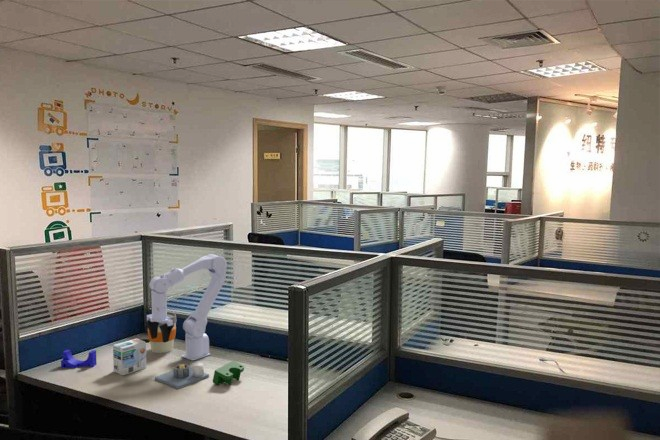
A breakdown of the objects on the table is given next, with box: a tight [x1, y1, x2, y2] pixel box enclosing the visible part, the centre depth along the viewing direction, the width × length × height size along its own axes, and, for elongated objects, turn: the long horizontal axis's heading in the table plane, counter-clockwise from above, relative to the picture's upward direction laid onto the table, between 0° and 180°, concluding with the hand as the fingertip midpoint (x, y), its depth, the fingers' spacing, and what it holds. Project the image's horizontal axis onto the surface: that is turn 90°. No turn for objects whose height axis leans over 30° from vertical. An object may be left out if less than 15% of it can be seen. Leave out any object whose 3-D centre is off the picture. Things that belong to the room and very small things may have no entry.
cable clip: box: [60, 349, 97, 369], centre depth 207 cm, size 12×4×6 cm, turn 88°
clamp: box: [212, 360, 245, 386], centre depth 194 cm, size 12×6×9 cm, turn 148°
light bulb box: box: [112, 338, 147, 376], centre depth 204 cm, size 11×7×11 cm, turn 143°
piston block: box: [154, 362, 210, 390], centre depth 196 cm, size 14×14×5 cm
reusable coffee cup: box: [146, 311, 178, 354], centre depth 227 cm, size 13×12×15 cm
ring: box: [173, 363, 191, 379], centre depth 196 cm, size 6×6×4 cm
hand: (159, 340), depth 210 cm, fingers open, 7 cm apart
